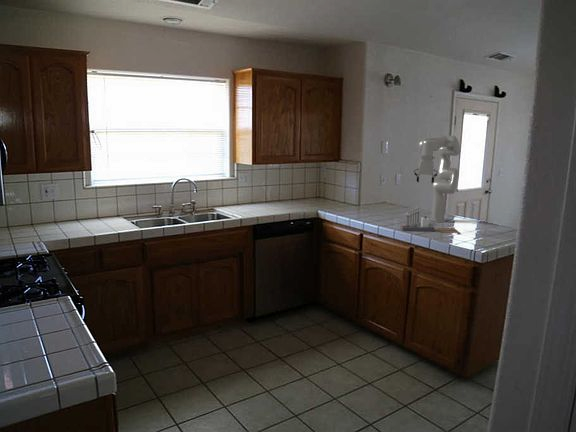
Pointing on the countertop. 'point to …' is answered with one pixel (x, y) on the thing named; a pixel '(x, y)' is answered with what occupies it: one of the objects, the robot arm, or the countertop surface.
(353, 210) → the countertop surface
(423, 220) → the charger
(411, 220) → the test tube rack
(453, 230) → the walnut board
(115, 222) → the countertop surface
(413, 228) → the power strip
